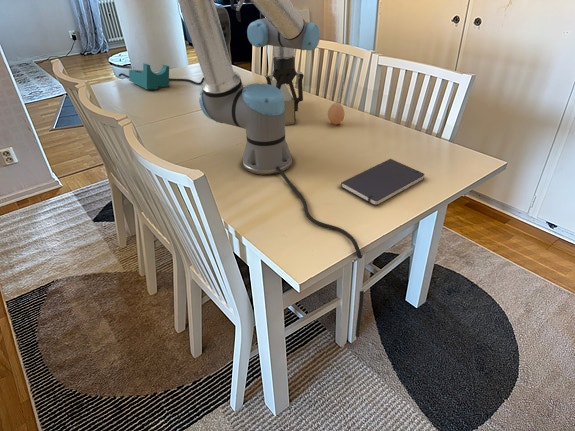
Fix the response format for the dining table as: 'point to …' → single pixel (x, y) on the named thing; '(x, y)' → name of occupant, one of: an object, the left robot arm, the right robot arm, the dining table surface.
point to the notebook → (382, 181)
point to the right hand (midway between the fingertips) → (285, 120)
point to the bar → (287, 103)
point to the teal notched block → (150, 77)
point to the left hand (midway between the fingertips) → (250, 20)
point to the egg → (336, 113)
